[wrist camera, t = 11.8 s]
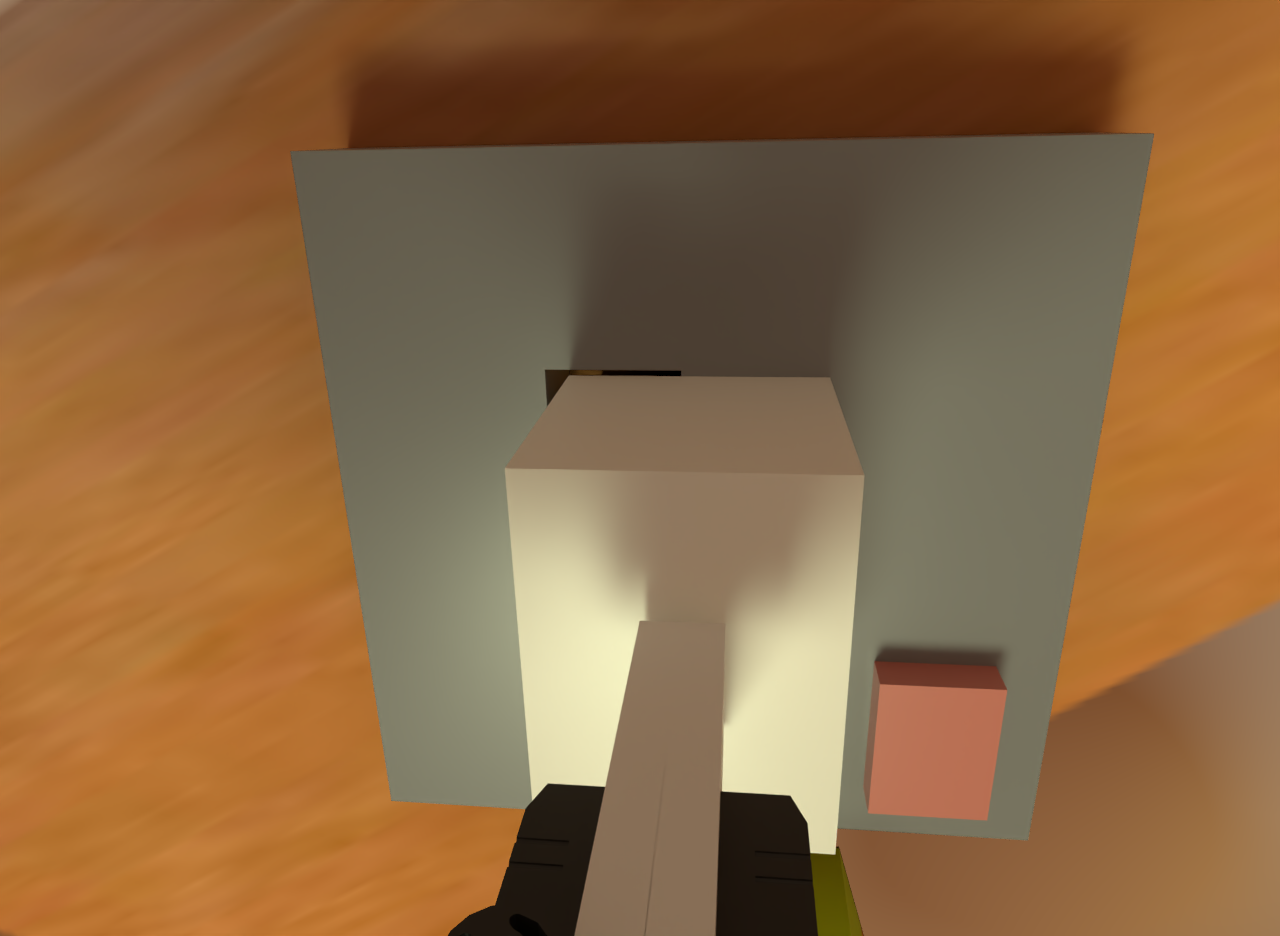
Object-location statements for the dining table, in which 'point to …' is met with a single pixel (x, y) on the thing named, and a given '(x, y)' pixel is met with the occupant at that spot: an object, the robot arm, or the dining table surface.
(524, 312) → the socket plate
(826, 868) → the puzzle toy
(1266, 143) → the dining table surface
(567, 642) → the plug
